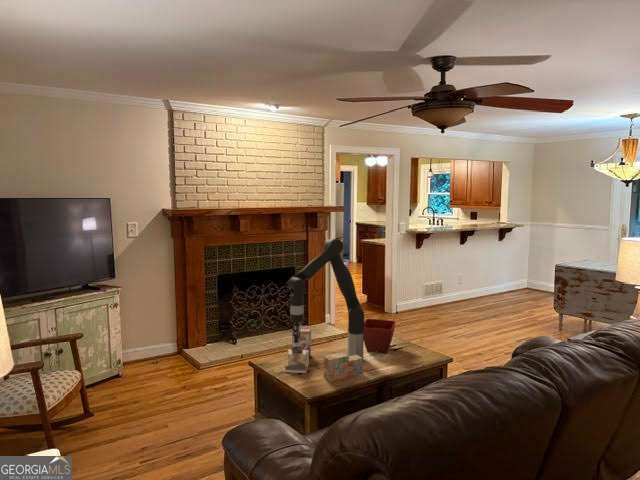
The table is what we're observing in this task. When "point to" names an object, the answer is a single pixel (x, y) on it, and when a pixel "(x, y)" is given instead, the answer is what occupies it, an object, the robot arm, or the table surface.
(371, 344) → the plant pot
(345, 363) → the stack of blocks
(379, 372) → the table surface
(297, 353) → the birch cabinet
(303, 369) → the cleat board
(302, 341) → the candy bar box
